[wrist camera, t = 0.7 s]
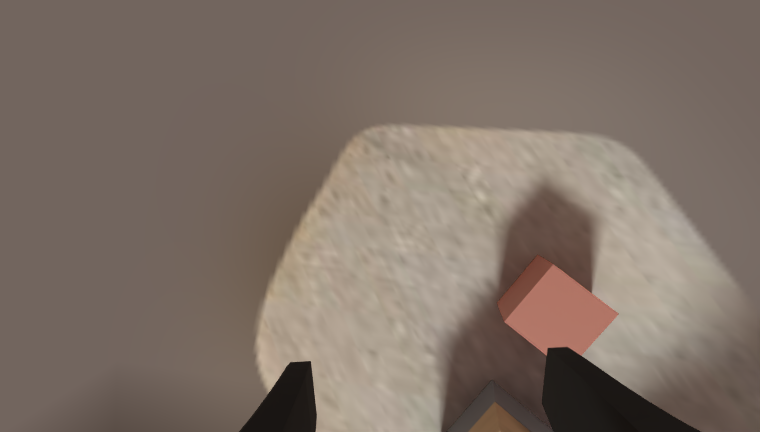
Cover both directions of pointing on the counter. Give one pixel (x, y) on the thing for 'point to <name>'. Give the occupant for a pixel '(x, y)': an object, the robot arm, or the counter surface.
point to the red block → (554, 309)
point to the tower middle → (497, 421)
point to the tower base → (504, 400)
